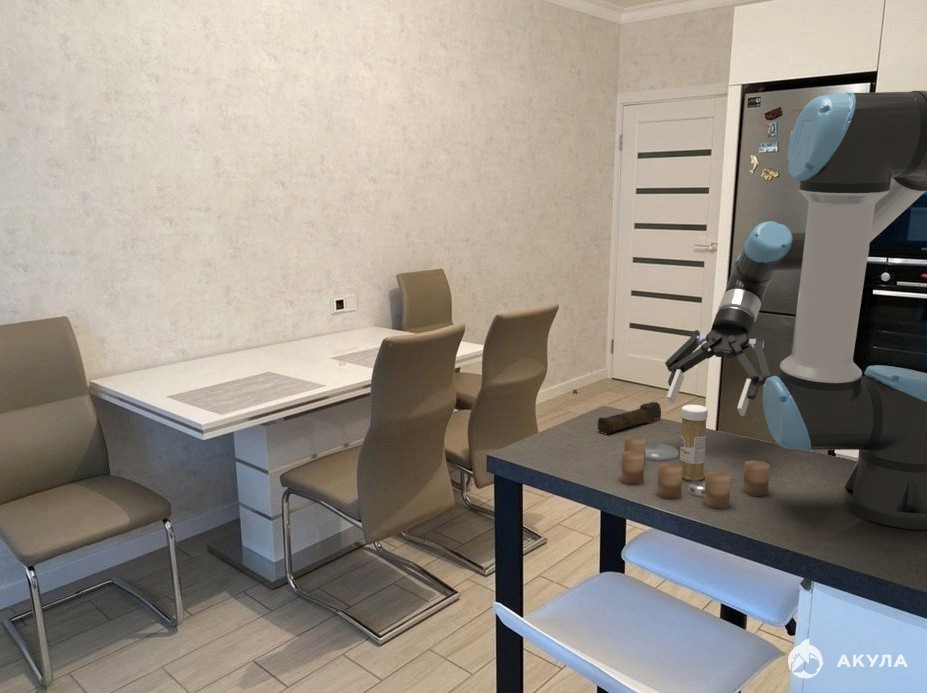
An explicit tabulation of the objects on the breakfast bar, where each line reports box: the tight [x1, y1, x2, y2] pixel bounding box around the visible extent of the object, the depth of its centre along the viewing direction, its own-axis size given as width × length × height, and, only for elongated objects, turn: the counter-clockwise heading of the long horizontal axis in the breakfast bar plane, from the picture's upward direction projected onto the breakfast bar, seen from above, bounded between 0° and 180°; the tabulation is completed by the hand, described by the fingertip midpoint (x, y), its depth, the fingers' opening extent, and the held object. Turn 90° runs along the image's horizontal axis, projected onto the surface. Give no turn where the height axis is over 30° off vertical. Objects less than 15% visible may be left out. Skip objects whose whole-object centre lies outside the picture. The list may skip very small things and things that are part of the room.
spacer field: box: [620, 436, 771, 510], centre depth 129 cm, size 26×18×5 cm
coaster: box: [645, 442, 679, 462], centre depth 144 cm, size 9×9×1 cm
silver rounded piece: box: [687, 480, 705, 498], centre depth 124 cm, size 4×4×2 cm
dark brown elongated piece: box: [597, 401, 662, 435], centre depth 161 cm, size 19×4×5 cm, turn 122°
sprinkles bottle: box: [679, 404, 709, 482], centre depth 130 cm, size 5×5×14 cm
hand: (704, 406), depth 134 cm, fingers open, 13 cm apart
